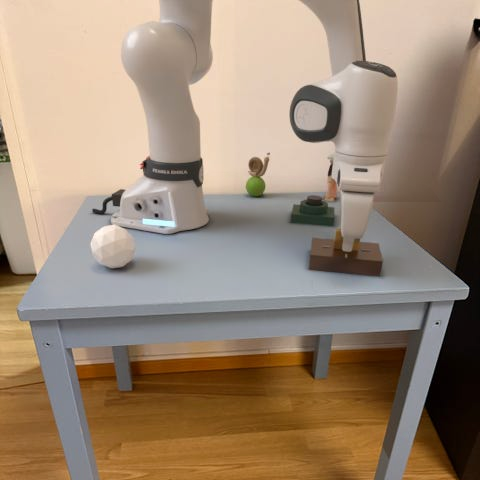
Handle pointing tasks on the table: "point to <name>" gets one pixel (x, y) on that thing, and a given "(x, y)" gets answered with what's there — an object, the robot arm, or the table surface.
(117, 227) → the geometric ball
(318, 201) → the bell button
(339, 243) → the lock turn
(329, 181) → the grandmother figurine
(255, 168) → the snail figurine
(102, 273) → the table surface
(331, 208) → the block
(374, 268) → the plate
